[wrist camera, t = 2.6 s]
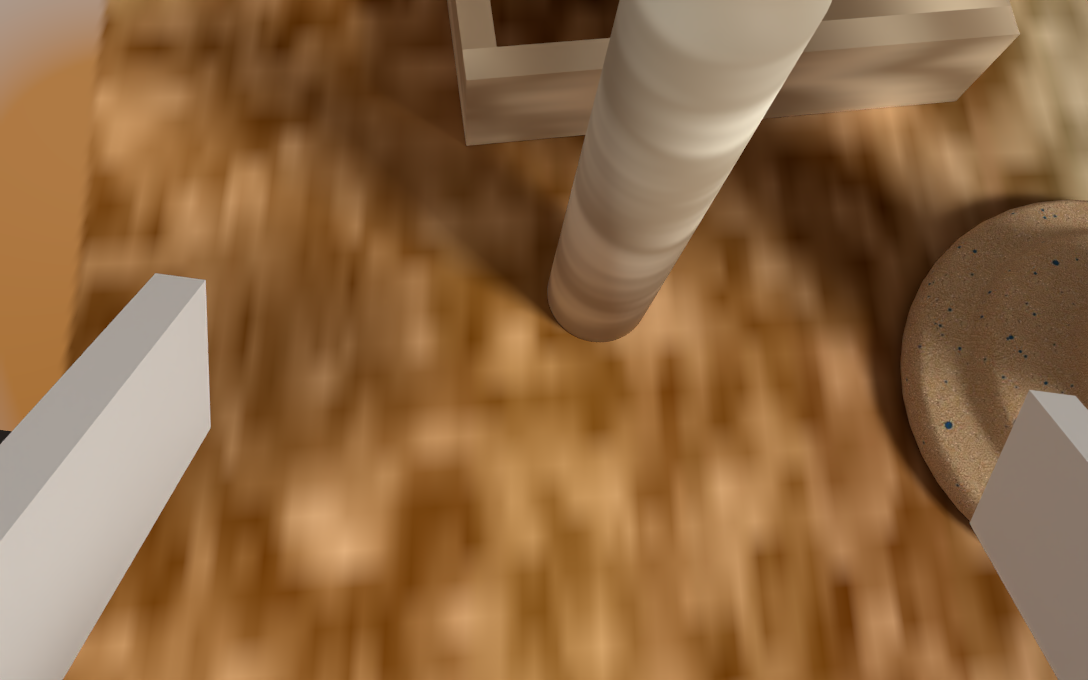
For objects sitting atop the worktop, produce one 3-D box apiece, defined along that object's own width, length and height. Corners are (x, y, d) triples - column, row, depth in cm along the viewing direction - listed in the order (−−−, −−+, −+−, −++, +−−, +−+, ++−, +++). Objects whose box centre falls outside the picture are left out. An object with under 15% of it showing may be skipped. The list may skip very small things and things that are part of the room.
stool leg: (638, 241, 31) (811, -129, 15) (655, 335, 30) (856, 45, 15) (540, 251, 30) (617, -116, 15) (555, 347, 30) (652, 62, 14)
